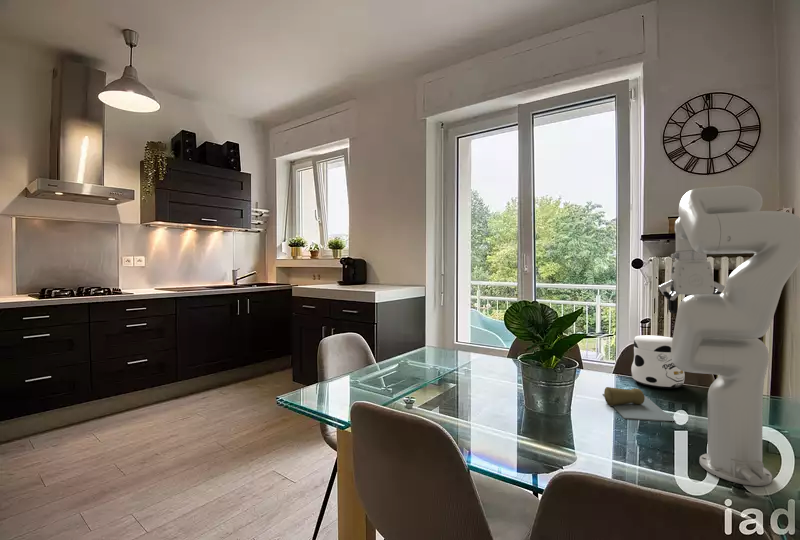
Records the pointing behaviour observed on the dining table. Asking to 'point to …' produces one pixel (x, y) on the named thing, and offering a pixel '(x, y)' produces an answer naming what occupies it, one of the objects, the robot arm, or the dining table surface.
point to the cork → (623, 396)
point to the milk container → (655, 362)
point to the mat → (642, 411)
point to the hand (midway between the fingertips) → (690, 313)
